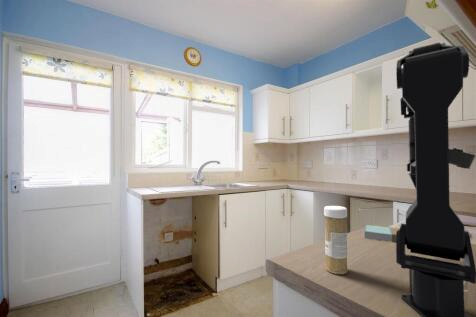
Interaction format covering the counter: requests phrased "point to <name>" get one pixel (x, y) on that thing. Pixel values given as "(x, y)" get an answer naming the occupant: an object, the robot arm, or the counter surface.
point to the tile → (378, 233)
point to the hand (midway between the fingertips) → (425, 203)
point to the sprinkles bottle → (336, 239)
